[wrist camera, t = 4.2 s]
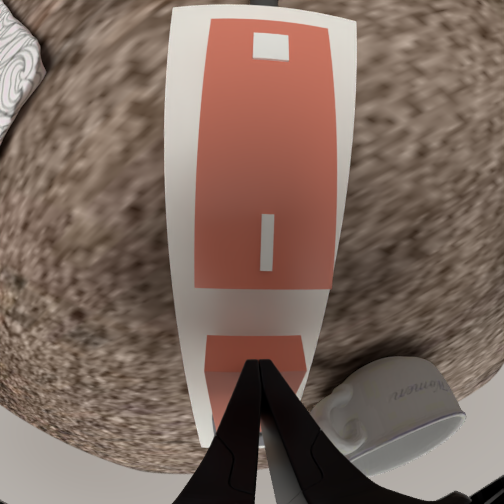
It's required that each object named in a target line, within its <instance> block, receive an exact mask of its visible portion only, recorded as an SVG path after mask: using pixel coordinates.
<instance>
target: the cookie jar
mask: <svg viewBox="0 0 504 504" xmlns="http://www.w3.org/2000/svg"><path fill="white" fill-rule="evenodd" d="M45 74H46V70H45V68H44V66H43V64H42V60H41V56H40V45H39V42H38V40H37V39H36V38H35V37H34V36H32V34H31V33H30V31H29V30H28V29H27V28H26V27H25V26H24V25H22V23H21V22H19V21H18V20H17V19H16V18H15V17H14V16H13V15H12V13H11V12H10V10H9V9H8V8H7V7H6V5H5V4H4V3H3V0H0V145H1V143H2V140H3V138H4V136H5V134H6V132H7V131H8V129H9V127H10V126H11V124H12V123H13V121H14V119H15V117H16V116H17V114H18V112H19V110H20V109H21V107H22V106H23V104H24V103H25V102H26V101H27V99H28V98H29V97H30V96H31V94H32V93H33V92H34V90H35V89H36V88H37V87H38V85H39V84H40V83H41V81H42V80H43V78H44V76H45Z"/></svg>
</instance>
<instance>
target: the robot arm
mask: <svg viewBox="0 0 504 504" xmlns="http://www.w3.org/2000/svg"><path fill="white" fill-rule="evenodd" d="M260 425H261V430H262V435H263V440H264V445H265V450H266V455H267V460H268V465H269V470H270V475H271V480H272V484H273V489H274V494H275V498H276V502H277V504H504V475H502V476H501V477H499V478H498V479H496V480H495V481H493V482H491V483H490V484H488V485H487V486H485V487H483V488H482V489H481V490H479V491H478V492H476V493H474V494H473V495H471V496H469V497H468V496H467V495H465V494H463V493H461V492H458V491H454V492H452V493H450V494H448V495H447V496H444V497H442V498H440V499H438V500H436V501H424V500H420V499H417V498H413V497H410V496H407V495H403V494H400V493H398V492H395V491H392V490H389V489H386V488H384V487H381V486H379V485H377V484H375V483H374V482H373V481H371V480H370V479H369V478H368V477H366V476H365V475H364V474H363V473H362V472H361V471H360V470H359V469H358V468H357V467H356V466H355V465H353V464H352V463H351V462H350V461H349V460H348V459H347V458H346V457H345V456H344V455H343V454H342V453H341V452H340V451H339V450H338V449H337V448H336V447H335V445H334V444H333V443H332V442H331V441H330V439H329V438H328V437H327V436H326V434H325V433H324V432H323V430H320V429H321V428H320V427H319V425H318V424H317V423H316V421H315V420H314V419H313V417H312V416H311V415H310V413H309V412H308V411H307V409H306V408H305V407H304V405H303V404H302V402H301V401H300V400H299V398H298V397H297V396H296V394H295V393H294V391H293V390H292V389H291V387H290V386H289V384H288V383H287V382H286V380H285V379H284V377H283V376H282V375H281V373H280V372H279V370H278V369H277V368H276V366H275V365H274V363H273V362H272V361H271V360H270V359H259V360H257V359H247V360H246V361H245V363H244V366H243V368H242V371H241V373H240V376H239V378H238V381H237V383H236V386H235V388H234V391H233V393H232V396H231V398H230V400H229V403H228V405H227V408H226V410H225V412H224V415H223V417H222V419H221V422H220V424H219V427H218V429H217V431H216V433H215V436H214V438H213V440H212V442H211V445H210V447H209V449H208V451H207V453H206V455H205V457H204V458H203V460H202V462H201V463H200V465H199V467H198V468H197V470H196V471H195V473H194V474H193V476H192V477H191V479H190V480H189V482H188V483H187V485H186V486H185V487H184V489H183V490H182V492H181V493H180V494H179V496H178V497H177V498H176V500H175V501H174V502H173V503H172V504H255V491H256V477H257V464H258V449H259V434H260ZM0 504H7V503H5V502H3V501H1V500H0Z"/></svg>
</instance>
